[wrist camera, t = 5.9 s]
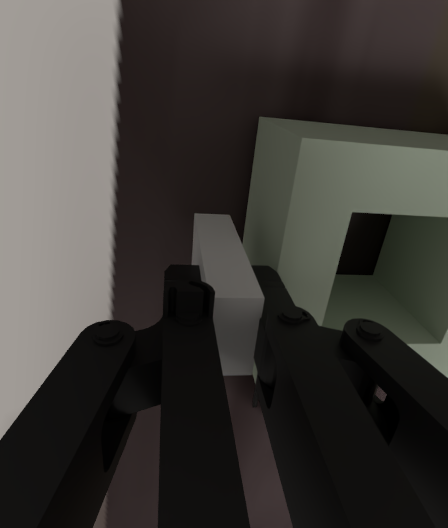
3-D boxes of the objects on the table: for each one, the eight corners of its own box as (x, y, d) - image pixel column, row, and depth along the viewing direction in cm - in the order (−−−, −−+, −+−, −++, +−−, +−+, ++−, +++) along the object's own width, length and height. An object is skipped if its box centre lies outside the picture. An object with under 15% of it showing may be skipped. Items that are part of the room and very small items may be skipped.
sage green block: (234, 306, 21) (255, 385, 15) (259, 116, 16) (302, 137, 11) (396, 308, 22) (465, 380, 17) (459, 135, 18) (581, 162, 13)
